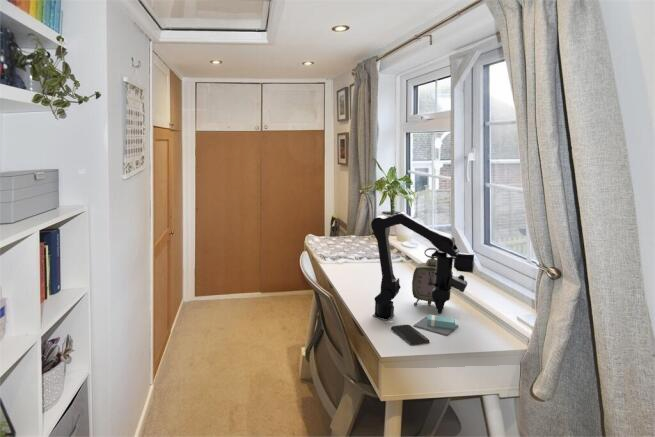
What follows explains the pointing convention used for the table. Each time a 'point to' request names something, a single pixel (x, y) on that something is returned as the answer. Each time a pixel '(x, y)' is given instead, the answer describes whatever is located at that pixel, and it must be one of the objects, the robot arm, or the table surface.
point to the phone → (410, 334)
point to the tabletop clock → (424, 279)
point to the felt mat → (433, 327)
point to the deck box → (441, 321)
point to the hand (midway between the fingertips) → (440, 309)
